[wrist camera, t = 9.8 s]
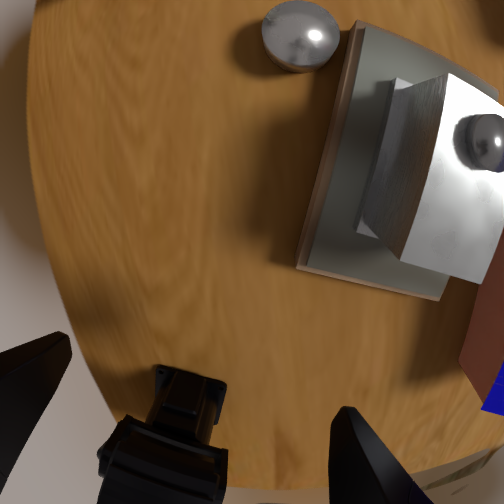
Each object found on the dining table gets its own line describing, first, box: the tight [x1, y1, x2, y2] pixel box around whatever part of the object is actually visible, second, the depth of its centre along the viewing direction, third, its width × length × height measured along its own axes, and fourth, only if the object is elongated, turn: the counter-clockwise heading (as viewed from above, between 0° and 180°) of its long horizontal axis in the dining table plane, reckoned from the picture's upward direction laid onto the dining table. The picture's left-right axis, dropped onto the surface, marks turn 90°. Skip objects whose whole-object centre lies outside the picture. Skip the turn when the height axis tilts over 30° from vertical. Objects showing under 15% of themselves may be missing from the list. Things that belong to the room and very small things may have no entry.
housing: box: [352, 73, 504, 284], centre depth 12 cm, size 9×6×7 cm, turn 167°
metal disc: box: [262, 0, 340, 73], centre depth 14 cm, size 4×4×2 cm
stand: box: [294, 20, 499, 302], centre depth 16 cm, size 16×11×2 cm
